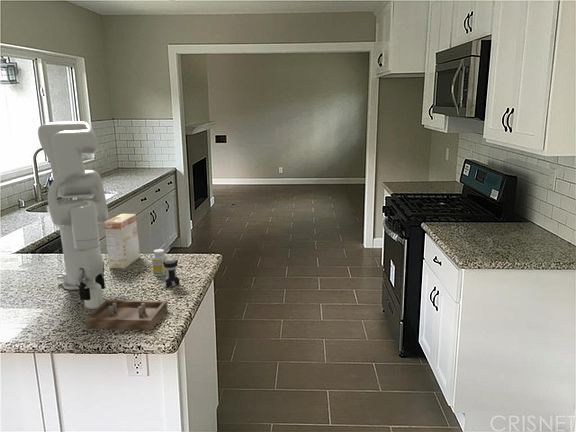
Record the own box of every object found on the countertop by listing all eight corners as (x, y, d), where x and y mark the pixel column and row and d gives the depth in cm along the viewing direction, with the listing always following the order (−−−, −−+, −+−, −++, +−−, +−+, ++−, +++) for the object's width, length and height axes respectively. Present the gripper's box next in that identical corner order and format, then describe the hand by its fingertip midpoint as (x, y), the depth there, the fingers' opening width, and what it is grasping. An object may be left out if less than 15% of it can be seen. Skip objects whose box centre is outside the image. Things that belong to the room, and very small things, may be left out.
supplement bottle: (157, 277, 184) (155, 253, 182) (150, 274, 188) (148, 250, 186) (170, 273, 187) (168, 250, 185) (163, 270, 191) (161, 247, 189)
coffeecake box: (125, 256, 210) (121, 213, 205) (140, 257, 209) (136, 213, 204) (108, 268, 195) (103, 221, 191) (124, 268, 194) (120, 222, 190)
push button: (164, 289, 171) (162, 263, 169) (159, 285, 175) (156, 259, 173) (182, 285, 175) (180, 259, 173) (176, 281, 179) (174, 255, 177)
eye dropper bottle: (92, 311, 154) (88, 276, 151) (83, 307, 158) (79, 272, 155) (105, 306, 158) (101, 272, 155) (95, 302, 161) (91, 269, 158)
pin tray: (86, 328, 143) (84, 314, 142) (107, 308, 156) (106, 295, 155) (151, 329, 141) (150, 315, 140) (167, 309, 154) (166, 296, 153)
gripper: (89, 236, 161) (94, 284, 165) (60, 251, 144) (67, 304, 148) (110, 236, 160) (115, 284, 164) (84, 250, 144) (91, 304, 147)
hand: (93, 294), depth 156 cm, fingers open, 9 cm apart
